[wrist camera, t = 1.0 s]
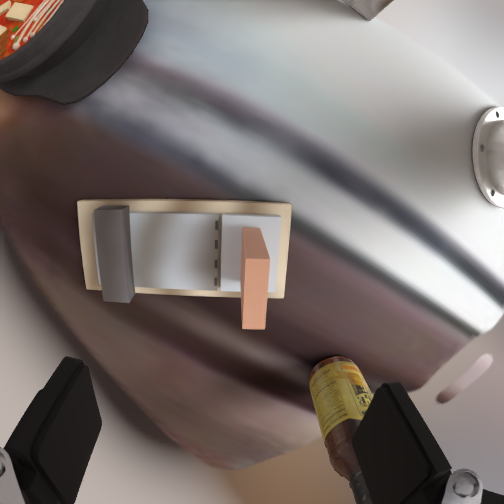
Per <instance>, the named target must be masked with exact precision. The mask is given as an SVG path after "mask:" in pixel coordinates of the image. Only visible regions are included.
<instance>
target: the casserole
mask: <svg viewBox="0 0 504 504" xmlns="http://www.w3.org/2000/svg"><path fill="white" fill-rule="evenodd" d="M147 23H148V9H147V7H146V5H145V4H144V2H143V0H0V88H1V89H2V90H3V91H5V92H7V93H9V94H12V95H15V96H39V97H42V98H45V99H48V100H51V101H54V102H57V103H60V104H63V105H64V104H69V103H75V102H78V101H79V100H81V99H83V98H85V97H87V96H89V95H90V94H91V93H93V92H94V91H95V90H97V89H98V88H99V87H100V86H102V85H103V84H104V83H106V82H107V81H108V80H109V79H110V78H111V77H112V76H113V75H114V74H115V73H116V72H117V71H118V70H119V69H120V68H121V66H122V65H123V64H124V62H125V61H126V60H127V59H128V57H129V56H130V55H131V54H132V52H133V51H134V49H135V47H136V46H137V44H138V43H139V41H140V39H141V38H142V36H143V33H144V31H145V28H146V26H147Z"/></svg>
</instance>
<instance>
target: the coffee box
mask: <svg viewBox="0 0 504 504" xmlns="http://www.w3.org/2000/svg"><path fill="white" fill-rule="evenodd" d="M342 1H344V2H345V3H347V4H348V5H349V6H351V7H352V8H353V9H355V10H356V11H357V12H359V13H360V14H361V15H363V16H364V17H365V18H366V19H368V20H369V21H371V20H372V19H373V18H374V17H375V16H376V15H377V14H378V13H379V12H381V11H382V10H383V9H384V8H385V7H386V6H388V5H389V4H390V3H391V2H392V1H393V0H342Z"/></svg>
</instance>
